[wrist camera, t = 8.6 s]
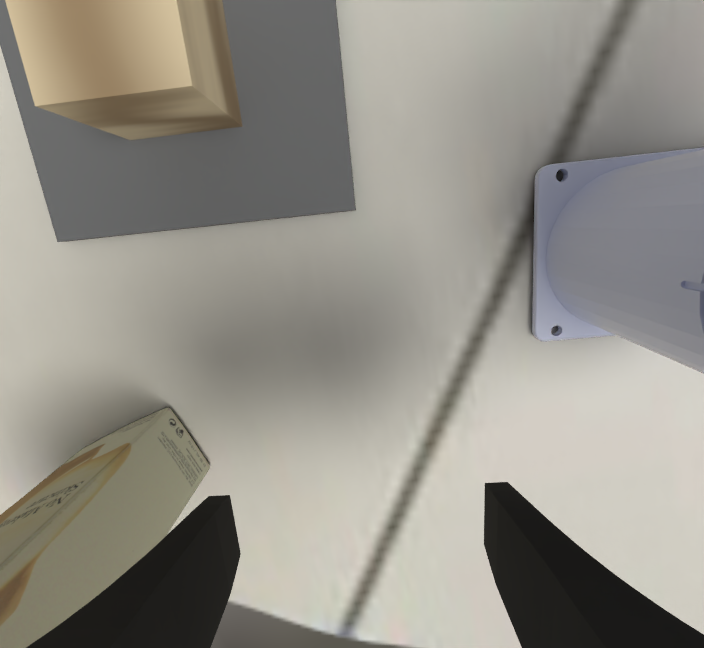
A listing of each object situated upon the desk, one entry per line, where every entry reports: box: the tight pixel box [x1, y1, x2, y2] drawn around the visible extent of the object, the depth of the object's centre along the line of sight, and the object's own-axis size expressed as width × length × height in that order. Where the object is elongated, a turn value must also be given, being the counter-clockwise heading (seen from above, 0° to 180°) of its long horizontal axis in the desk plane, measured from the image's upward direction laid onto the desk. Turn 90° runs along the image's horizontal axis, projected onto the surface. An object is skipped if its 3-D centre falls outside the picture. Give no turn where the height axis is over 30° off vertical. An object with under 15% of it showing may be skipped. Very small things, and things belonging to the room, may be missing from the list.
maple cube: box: [5, 0, 243, 140], centre depth 13 cm, size 5×5×5 cm
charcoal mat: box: [0, 0, 356, 242], centre depth 16 cm, size 14×14×1 cm
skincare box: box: [0, 408, 210, 648], centre depth 15 cm, size 6×4×12 cm
